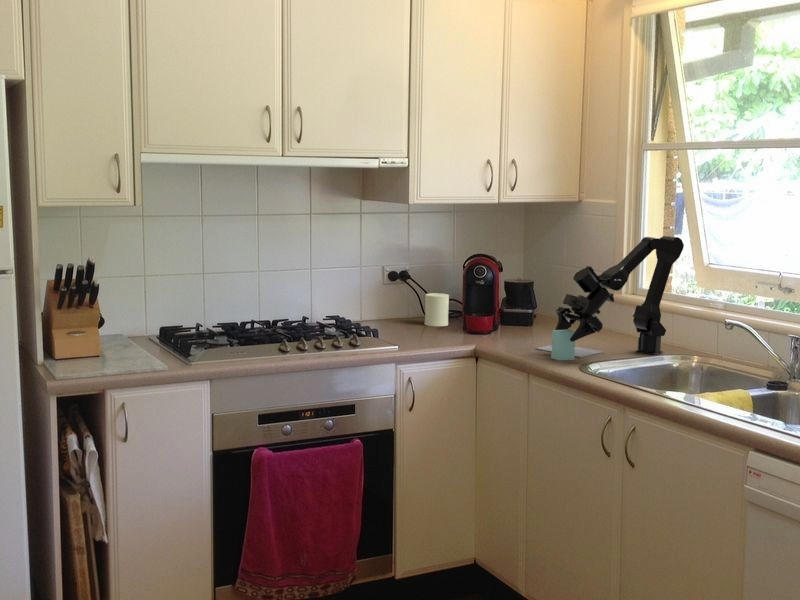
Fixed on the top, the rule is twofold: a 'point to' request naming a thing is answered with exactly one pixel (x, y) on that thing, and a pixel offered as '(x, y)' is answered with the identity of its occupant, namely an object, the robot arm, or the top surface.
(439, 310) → the can
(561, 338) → the mint green pillar
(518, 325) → the top surface
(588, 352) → the placemat
